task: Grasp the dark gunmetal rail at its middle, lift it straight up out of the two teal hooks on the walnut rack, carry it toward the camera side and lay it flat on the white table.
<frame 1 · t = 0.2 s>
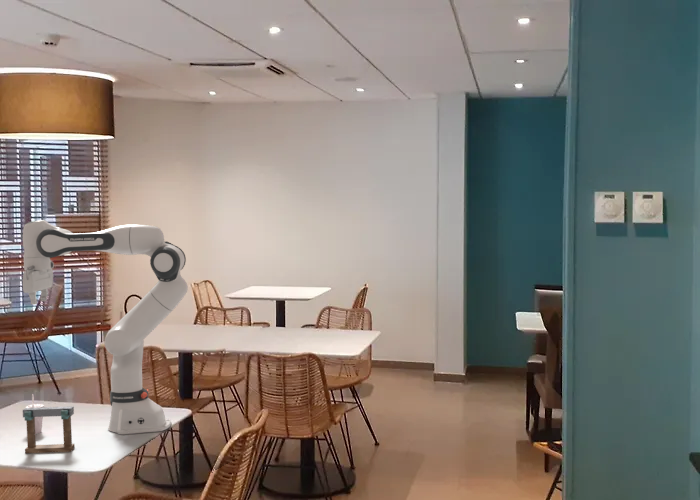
hand: (38, 302, 276), 47 cm above the table, fingers open, 8 cm apart
rail: (48, 415, 254), point 12 cm above the table, touching rack
rack: (50, 450, 255), on the table
smoothie: (36, 432, 277), on the table
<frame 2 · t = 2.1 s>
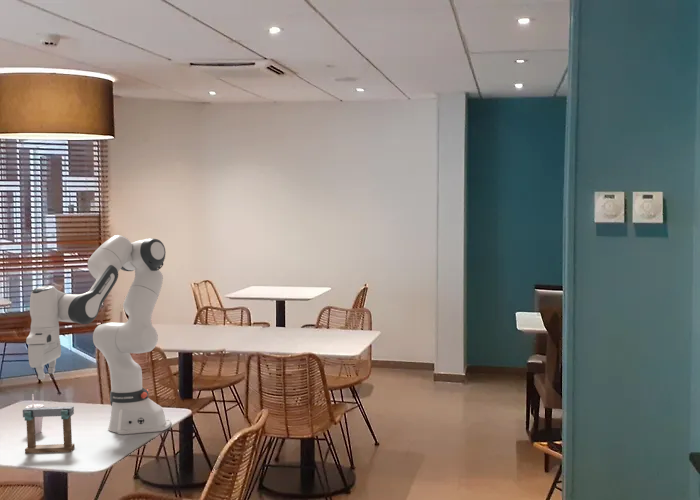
hand: (46, 375, 253), 25 cm above the table, fingers open, 8 cm apart
nothing on the table moved.
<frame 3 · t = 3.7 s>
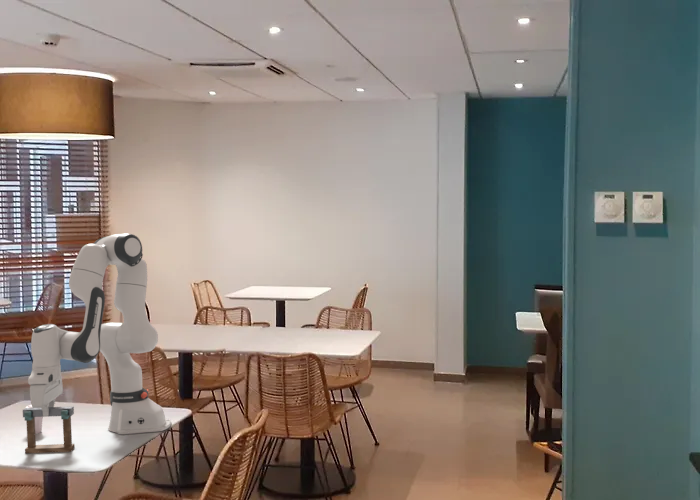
hand: (48, 414, 254), 12 cm above the table, fingers closed on rail, 3 cm apart
rail: (48, 415, 254), point 12 cm above the table, touching gripper, rack
everything else where it was.
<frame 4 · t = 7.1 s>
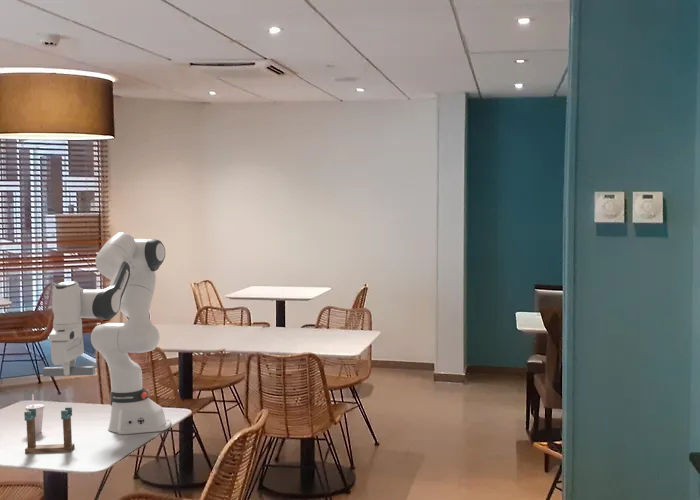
hand: (69, 373, 247), 27 cm above the table, fingers closed on rail, 2 cm apart
rail: (69, 374, 247), point 27 cm above the table, touching gripper
everything else where it was.
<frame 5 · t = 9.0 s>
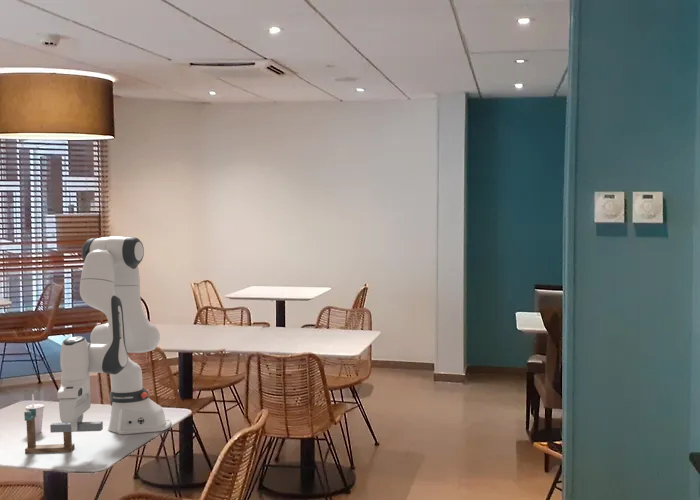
hand: (76, 429, 246), 9 cm above the table, fingers closed on rail, 2 cm apart
rail: (76, 430, 246), point 9 cm above the table, touching gripper
everything else where it was.
when the fingers open (3 cm above the table, at t = 10.3 s): rail drops 3 cm, on the table.
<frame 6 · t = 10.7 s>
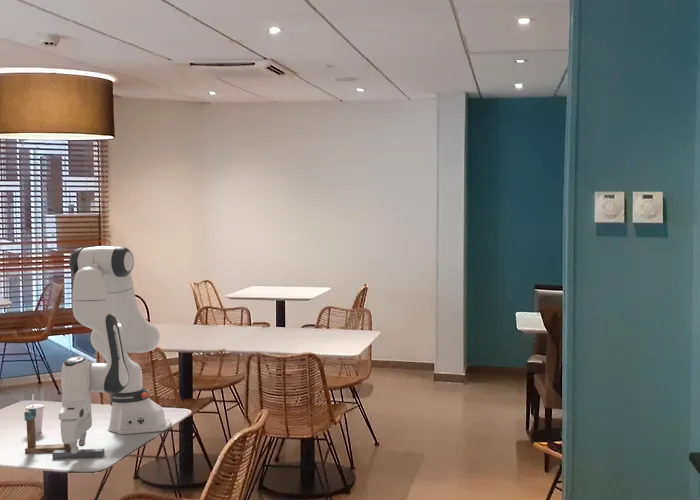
hand: (78, 449, 247), 3 cm above the table, fingers open, 6 cm apart
rail: (78, 458, 247), on the table
everything else where it was.
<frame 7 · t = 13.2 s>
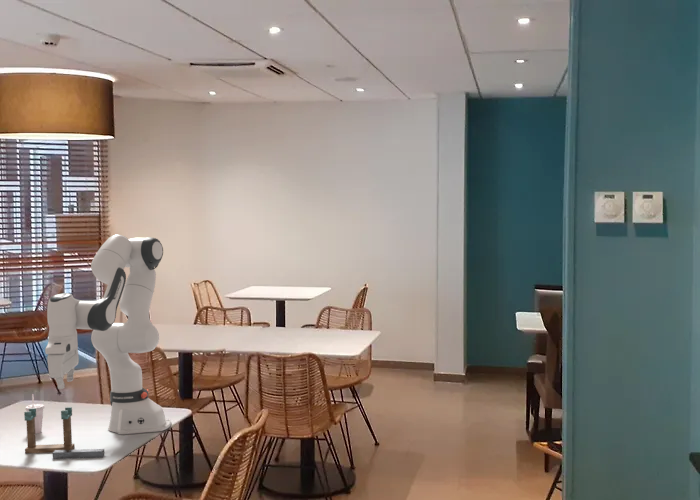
hand: (65, 384, 249), 23 cm above the table, fingers open, 8 cm apart
nothing on the table moved.
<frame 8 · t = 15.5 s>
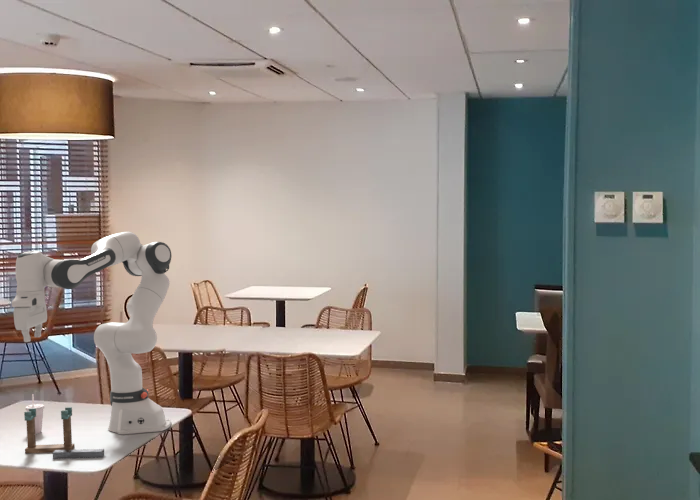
hand: (32, 339, 257), 37 cm above the table, fingers open, 8 cm apart
nothing on the table moved.
at the end: rail inside the target area (0.0 cm from its centre), on the table; rail touching table; the gripper is holding nothing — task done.
